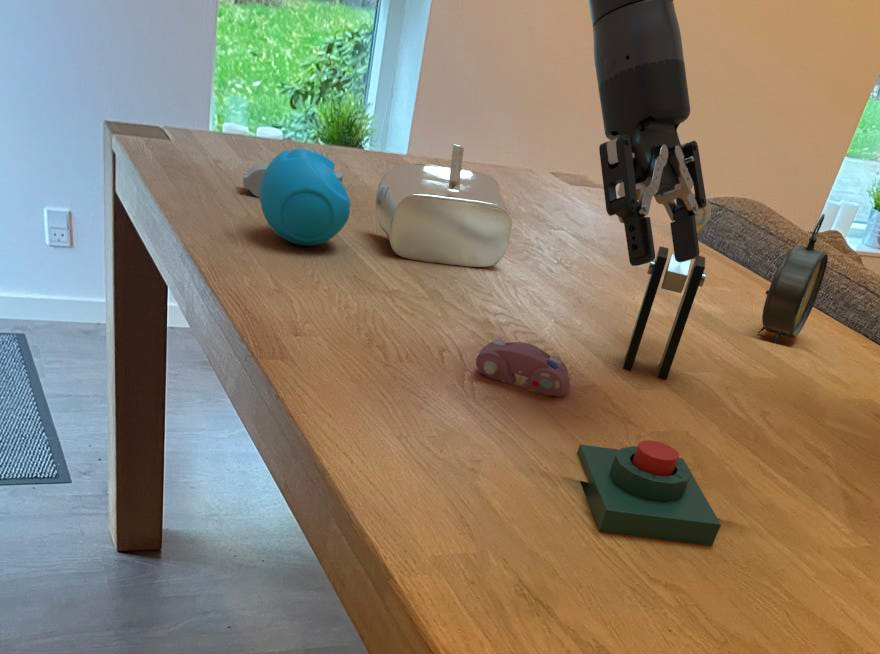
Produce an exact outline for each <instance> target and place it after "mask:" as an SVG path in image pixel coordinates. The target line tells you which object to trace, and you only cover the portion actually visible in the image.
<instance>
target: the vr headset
mask: <svg viewBox="0 0 880 654" xmlns="http://www.w3.org/2000/svg"><path fill="white" fill-rule="evenodd" d="M464 151H465V147H464V146H462V145H459V144H455V143H453V144H452V151H451V159H450V167H447V166H440V165H436V164H435V165H434V164H427V163H404V164H399V165H396V166H393V167H391V168H390V169H388V170H387V171H386V173H385V174H384V175H383V176H382V178H381V180H380V182H379V184H378V187H377V191H376V195H375V215H376V220H377V222H378V225H379V227H380V229H381V230H382V231H383V233H384V234H385V235H386V237H387V240H388V242H389V245H390V247H391V249H392V251H393V252H394V253H395V254H396V255H397V256H399V257H401V258H404V259H407V260H413V261H419V262H426V263H427V262H428V263H434V264H442V265H450V266H460V267H469V268H471V267H472V268H488V267H493V266H495V265H497V264H498V263H500V261H502V259H503V258H504V256H505V255H506V252H507V249H508V246H509V243H510V238H511V234H512V233H511V232H512V227H513V219H512V215H511V213H510V210H509V209H508V206H507V204H506V202H505V200H504V198H503V195H502V191H501V186H500V184H499V182H498V181H497V180H496V178H494V177H492V176H491V175H488V174H486V173H484V172H480V171H475V170H469V169H463V159H464Z"/></svg>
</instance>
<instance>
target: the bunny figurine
mask: <svg viewBox="0 0 880 654" xmlns="http://www.w3.org/2000/svg"><path fill="white" fill-rule="evenodd" d="M268 165H269V163H267V162H258V163H255V164H254V165H252V167H250V168H249V169H248V170H243V176H242V181H243V189H245V190H246V189H247V190H249V191H250V193H251V194H252V195H254V196H256V197H257V198H258V199H259V198H260V187H261V181H262V178H263V175H264V173H265V171H266V169H267V167H268ZM334 173H335V175H336V176H337V178H338V179H339V180H340V182H341V183H342V185H343V187H344V188H345V189H346V183H344V182H343V181H344V180H343V179H344V174H343V173H340V172H337V171H336V172H335V171H334Z"/></svg>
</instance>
